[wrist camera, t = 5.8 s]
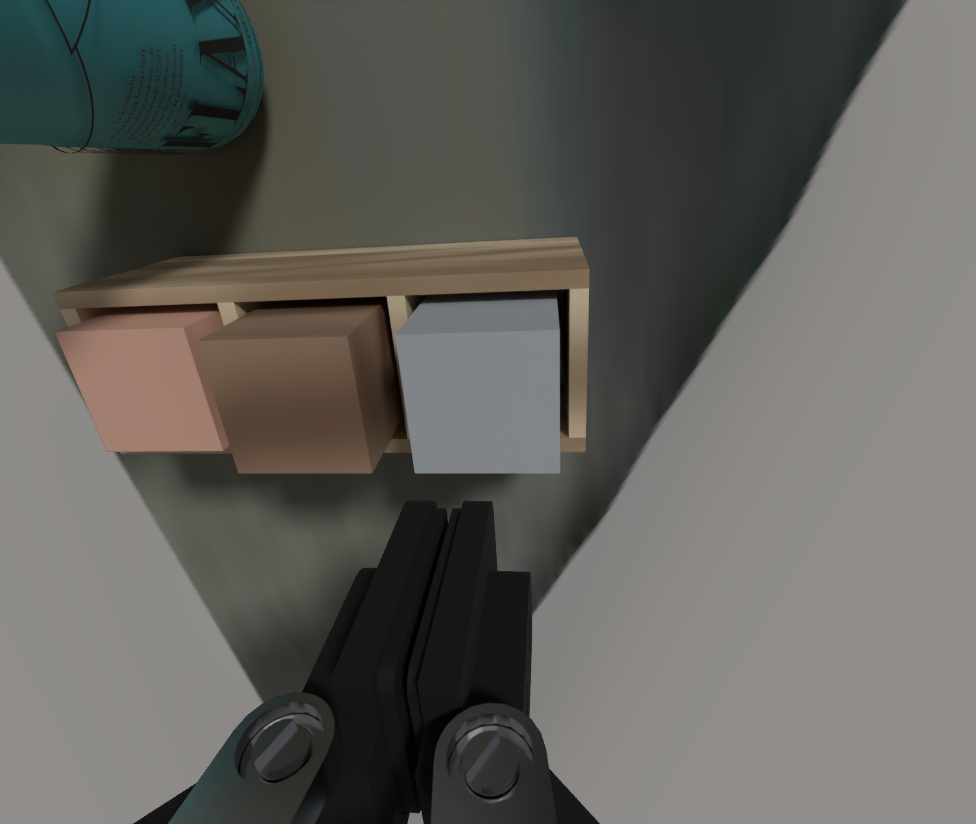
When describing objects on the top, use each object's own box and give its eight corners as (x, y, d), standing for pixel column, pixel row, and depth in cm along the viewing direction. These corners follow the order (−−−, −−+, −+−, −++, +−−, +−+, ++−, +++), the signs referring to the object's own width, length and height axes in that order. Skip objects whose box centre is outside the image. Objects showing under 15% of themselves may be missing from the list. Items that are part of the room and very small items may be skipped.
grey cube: (429, 292, 19) (394, 334, 15) (556, 287, 19) (559, 329, 14) (441, 406, 21) (414, 473, 17) (556, 404, 21) (560, 473, 16)
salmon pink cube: (154, 295, 22) (54, 331, 18) (258, 291, 21) (183, 327, 17) (188, 395, 24) (106, 451, 20) (284, 394, 23) (223, 451, 19)
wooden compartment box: (176, 257, 25) (52, 292, 19) (576, 236, 23) (589, 269, 16) (216, 386, 28) (121, 454, 21) (575, 378, 26) (585, 452, 19)
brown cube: (274, 298, 20) (196, 341, 16) (392, 294, 19) (347, 336, 15) (300, 408, 22) (238, 473, 18) (408, 406, 21) (372, 473, 17)
